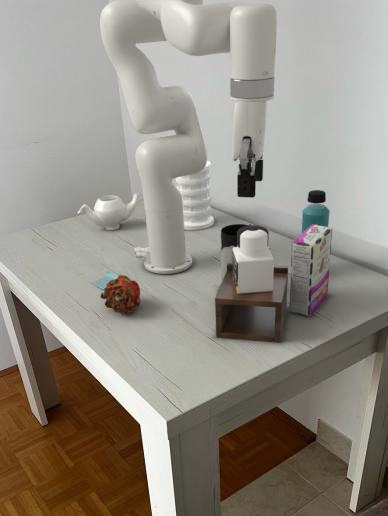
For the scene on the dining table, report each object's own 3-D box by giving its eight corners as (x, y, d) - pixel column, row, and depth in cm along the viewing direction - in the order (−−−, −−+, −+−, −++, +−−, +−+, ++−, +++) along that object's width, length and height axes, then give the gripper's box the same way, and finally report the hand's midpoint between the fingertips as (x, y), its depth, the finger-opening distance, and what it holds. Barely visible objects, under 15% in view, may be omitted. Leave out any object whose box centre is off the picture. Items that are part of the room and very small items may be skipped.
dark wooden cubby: (216, 337, 112) (214, 292, 106) (228, 305, 123) (227, 263, 118) (280, 342, 109) (282, 296, 103) (286, 309, 120) (288, 266, 115)
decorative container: (206, 231, 163) (203, 170, 153) (170, 228, 166) (166, 168, 157) (218, 218, 172) (217, 159, 162) (184, 215, 175) (181, 158, 166)
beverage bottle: (325, 277, 132) (332, 196, 122) (297, 276, 134) (302, 195, 123) (325, 266, 138) (332, 187, 127) (298, 265, 139) (303, 187, 128)
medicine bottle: (232, 279, 114) (231, 223, 107) (266, 276, 114) (267, 220, 108) (237, 294, 108) (236, 236, 101) (273, 291, 108) (275, 233, 102)
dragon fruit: (127, 329, 119) (117, 312, 130) (155, 301, 119) (143, 286, 130) (99, 304, 115) (91, 288, 126) (127, 275, 115) (117, 262, 125)
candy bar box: (307, 291, 127) (311, 223, 118) (327, 295, 124) (334, 226, 116) (287, 312, 119) (290, 241, 110) (309, 317, 117) (314, 245, 108)
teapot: (77, 228, 170) (72, 199, 165) (138, 217, 176) (135, 188, 171) (84, 238, 163) (79, 208, 158) (147, 226, 169) (144, 196, 164)
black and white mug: (214, 296, 127) (212, 235, 119) (233, 271, 138) (232, 213, 130) (250, 301, 124) (251, 238, 116) (267, 275, 135) (268, 216, 127)
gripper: (238, 81, 101) (238, 174, 111) (220, 98, 87) (221, 202, 97) (279, 81, 100) (275, 175, 109) (267, 98, 86) (264, 204, 95)
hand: (250, 188), depth 103 cm, fingers open, 9 cm apart
